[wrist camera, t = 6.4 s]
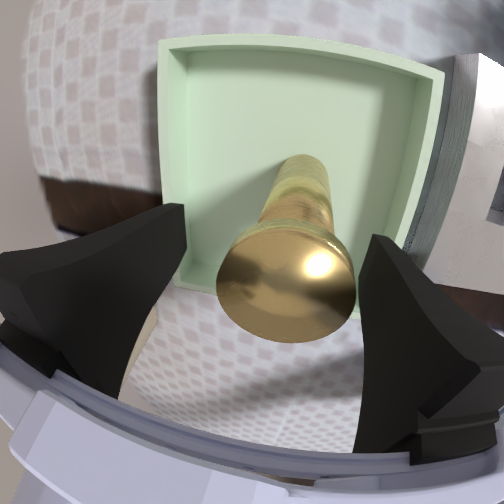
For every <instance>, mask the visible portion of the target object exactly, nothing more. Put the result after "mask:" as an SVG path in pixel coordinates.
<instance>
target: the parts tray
mask: <svg viewBox="0 0 504 504" xmlns="http://www.w3.org/2000/svg"><path fill="white" fill-rule="evenodd" d="M444 78H445V73H444V72H442V71H440V70H437V69H434V68H432V67H429V66H427V65H424V64H421V63H418V62H415V61H412V60H409V59H406V58H403V57H400V56H396V55H393V54H389V53H386V52H382V51H378V50H374V49H370V48H366V47H362V46H357V45H352V44H347V43H342V42H336V41H331V40H324V39H317V38H309V37H300V36H290V35H276V34H211V35H198V36H187V37H178V38H170V39H163V40H158V70H157V104H158V137H159V156H160V171H161V184H162V195H163V204H166V203H179V204H184V211H185V225H186V238H187V250H186V252H185V254H184V257H183V259H182V261H181V263H180V265H179V267H178V269H177V270H176V272H175V274H174V275H173V282H174V286H176V287H181V288H185V289H190V290H194V291H199V292H204V293H209V294H213V295H217V293H216V278H217V274H218V271H219V269H220V267H221V264H222V262H223V260H224V258H225V256H226V254H227V252H228V250H229V248H230V246H231V244H232V243H233V242H234V240H235V239H236V238H237V237H238V236H239V235H240V234H241V233H242V232H243V231H245V230H246V229H248V228H249V227H251V226H253V225H255V224H257V222H258V220H259V217H260V215H261V212H262V210H263V208H264V205H265V203H266V200H267V198H268V195H269V193H270V190H271V188H272V185H273V183H274V180H275V178H276V175H277V173H278V170H279V168H280V166H281V165H282V163H283V162H284V161H285V160H286V159H288V158H289V157H291V156H294V155H299V154H306V155H310V156H313V157H315V158H317V159H318V160H320V161H321V162H322V163H323V165H324V166H325V168H326V170H327V172H328V177H329V184H330V193H331V201H332V211H333V221H334V232H335V236H336V237H337V238H338V239H339V240H340V241H341V242H342V244H343V245H344V246H345V247H346V249H347V251H348V253H349V255H350V257H351V260H352V263H353V268H354V276H355V284H356V303H355V306H354V309H353V312H352V314H351V315H350V317H349V318H354V319H361V317H360V308H359V300H358V276H359V273H360V271H361V268H362V265H363V262H364V259H365V256H366V253H367V250H368V247H369V243H370V240H371V237H372V234H378V235H383V236H388V237H389V238H390V239H391V240H393V241H394V242H395V243H396V244H397V245H398V246H399V247H400V248H401V249H402V247H403V244H404V242H405V239H406V236H407V234H408V231H409V228H410V225H411V222H412V219H413V216H414V213H415V210H416V207H417V204H418V200H419V197H420V194H421V190H422V187H423V184H424V180H425V176H426V173H427V169H428V165H429V161H430V157H431V153H432V148H433V144H434V139H435V134H436V129H437V124H438V119H439V113H440V107H441V101H442V94H443V86H444Z"/></svg>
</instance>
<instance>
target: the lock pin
mask: <svg viewBox="0 0 504 504" xmlns="http://www.w3.org/2000/svg"><path fill="white" fill-rule="evenodd" d="M216 293H217V296H218V300H219V302H220V304H221V306H222V308H223V309H224V311H225V312H226V314H227V315H228V316H229V317H230V318H231V319H232V320H233V321H234V322H235V323H236V324H237V325H239V326H240V327H241V328H243V329H244V330H246V331H248V332H250V333H251V334H253V335H256V336H258V337H261V338H264V339H267V340H271V341H275V342H282V343H303V342H309V341H314V340H317V339H320V338H323V337H325V336H328V335H330V334H331V333H333V332H335V331H336V330H337V329H339V328H340V327H341V326H342V325H343V324H344V323H345V322H346V321H347V320H348V318H349V317H350V315H351V314H352V312H353V309H354V306H355V303H356V284H355V276H354V268H353V263H352V260H351V257H350V255H349V253H348V251H347V249H346V247H345V246H344V245H343V244H342V242H341V241H340V240H339V239H338V238H337V237H336V236H335V232H334V221H333V211H332V201H331V193H330V184H329V177H328V172H327V170H326V168H325V166H324V165H323V163H322V162H321V161H320V160H318V159H317V158H315V157H313V156H310V155H306V154H299V155H294V156H291V157H289V158H288V159H286V160H285V161H284V162H283V163H282V165H281V166H280V168H279V170H278V173H277V175H276V178H275V180H274V183H273V185H272V188H271V190H270V193H269V195H268V198H267V200H266V203H265V205H264V208H263V210H262V212H261V215H260V217H259V220H258V222H257V224H255V225H253V226H251V227H249V228H248V229H246V230H245V231H243V232H242V233H241V234H240V235H239V236H238V237H237V238H236V239H235V240H234V242H233V243H232V244H231V246H230V248H229V250H228V252H227V254H226V256H225V258H224V260H223V262H222V264H221V267H220V269H219V271H218V274H217V278H216Z"/></svg>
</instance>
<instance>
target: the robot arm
mask: <svg viewBox="0 0 504 504" xmlns="http://www.w3.org/2000/svg"><path fill="white" fill-rule="evenodd" d="M186 250H187V238H186V225H185V211H184V204H179V203H166V204H163V205H160V206H157V207H155V208H152V209H150V210H148V211H145V212H143V213H141V214H138V215H136V216H134V217H131V218H129V219H127V220H124V221H122V222H119V223H117V224H115V225H112V226H110V227H108V228H105V229H102V230H100V231H97V232H94V233H91V234H88V235H85V236H83V237H79V238H76V239H72V240H68V241H65V242H61V243H58V244H53V245H49V246H44V247H39V248H33V249H28V250H19V251H10V252H3V253H1V254H0V312H1V313H2V315H3V317H4V318H5V320H4V322H3V323H2V324H0V417H1V418H2V419H3V420H4V422H5V423H6V424H7V425H8V426H9V427H10V428H11V429H12V430H13V433H12V435H11V437H10V439H9V443H8V445H9V447H10V450H11V453H12V454H13V455H14V456H15V457H16V458H17V459H18V460H19V462H20V463H21V464H22V465H23V466H25V468H26V469H25V471H24V473H23V475H22V478H21V480H20V482H19V484H18V486H17V489H16V491H15V494H14V496H13V498H12V501H11V503H10V504H497V503H499V502H501V501H503V500H504V427H502V428H500V429H498V430H496V431H495V425H494V423H496V422H497V421H499V418H500V416H499V411H498V409H500V408H501V407H502V406H503V405H504V337H502V336H501V335H499V334H498V333H496V332H495V331H493V330H492V329H490V328H489V327H487V326H485V325H484V324H483V323H481V322H480V321H478V320H477V319H476V318H474V317H473V316H472V315H470V314H469V313H468V312H467V311H465V310H464V309H463V308H461V307H460V306H459V305H458V304H456V303H455V302H454V301H453V300H452V299H451V298H450V297H449V296H447V295H446V294H445V293H444V292H443V291H442V290H441V289H440V288H439V287H437V286H436V285H435V284H434V283H433V282H432V281H431V280H430V279H429V278H428V277H427V276H426V275H425V274H424V273H423V272H422V271H421V269H420V268H419V267H418V266H417V265H416V264H415V263H414V262H413V261H412V260H411V259H410V258H409V257H408V256H407V255H406V254H405V253H404V252H403V250H402V249H401V248H400V247H399V246H398V245H397V244H396V243H395V242H394V241H393V240H391V239H390V238H389V237H388V236H383V235H378V234H372V237H371V240H370V243H369V247H368V250H367V253H366V256H365V259H364V262H363V265H362V268H361V271H360V273H359V276H358V300H359V308H360V317H361V325H362V334H363V343H364V378H363V392H362V402H361V409H360V416H359V423H358V429H357V434H356V438H355V443H354V448H353V452H352V453H330V452H317V451H306V450H297V449H289V448H282V447H275V446H269V445H263V444H257V443H252V442H247V441H242V440H237V439H233V438H229V437H224V436H220V435H216V434H213V433H209V432H205V431H202V430H198V429H195V428H191V427H188V426H185V425H182V424H178V423H175V422H172V421H169V420H167V419H164V418H161V417H158V416H155V415H153V414H150V413H147V412H145V411H142V410H140V409H137V408H135V407H132V406H130V405H127V404H125V403H123V402H120V401H118V396H119V392H120V388H121V385H122V381H123V378H124V374H125V371H126V368H127V366H128V363H129V360H130V357H131V354H132V351H133V349H134V346H135V344H136V341H137V339H138V337H139V334H140V332H141V330H142V328H143V325H144V323H145V321H146V319H147V317H148V315H149V313H150V311H151V310H152V308H153V306H154V305H155V303H156V302H157V300H158V298H159V297H160V295H161V294H162V292H163V291H164V289H165V288H166V286H167V284H168V283H169V281H170V280H171V278H172V277H173V275H174V274H175V272H176V270H177V269H178V267H179V265H180V263H181V261H182V259H183V257H184V254H185V252H186ZM101 420H102V421H101ZM103 421H104V422H103ZM105 422H106V423H105ZM107 423H108V424H107ZM109 424H110V425H109ZM124 431H125V432H124ZM133 435H134V436H133ZM140 438H141V439H140ZM145 440H146V441H145ZM150 442H151V443H150ZM155 444H156V445H155ZM166 448H167V449H166ZM190 456H191V457H190ZM200 459H201V460H200ZM211 462H212V463H211ZM215 463H216V464H215ZM219 464H220V465H219ZM222 465H224V466H222ZM226 466H228V467H226ZM229 467H233V468H237V469H242V470H247V471H252V472H257V473H264V474H270V475H276V476H284V477H293V478H303V479H316V480H317V481H315V482H314V486H313V487H308V486H301V485H294V484H288V483H282V482H279V481H276V480H273V479H269V478H266V477H263V476H260V475H257V474H254V473H249V472H245V471H241V470H237V469H233V468H229Z"/></svg>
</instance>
